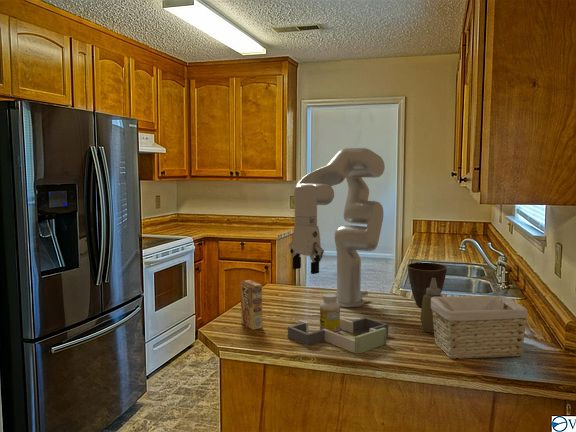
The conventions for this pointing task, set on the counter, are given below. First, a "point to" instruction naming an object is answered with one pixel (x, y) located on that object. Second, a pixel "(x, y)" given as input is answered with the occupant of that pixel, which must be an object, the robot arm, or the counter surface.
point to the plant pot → (425, 278)
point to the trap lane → (368, 339)
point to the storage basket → (478, 326)
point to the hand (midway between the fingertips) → (305, 271)
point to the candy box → (251, 304)
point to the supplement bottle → (330, 313)
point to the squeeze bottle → (429, 306)
